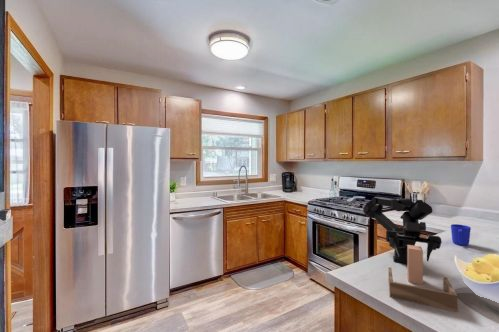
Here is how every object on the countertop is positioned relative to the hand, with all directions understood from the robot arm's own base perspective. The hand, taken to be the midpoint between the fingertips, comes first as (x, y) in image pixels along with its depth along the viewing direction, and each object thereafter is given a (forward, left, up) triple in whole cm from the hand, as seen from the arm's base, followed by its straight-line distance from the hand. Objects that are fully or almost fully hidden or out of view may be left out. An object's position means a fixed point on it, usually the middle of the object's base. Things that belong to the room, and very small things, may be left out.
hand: (413, 258), depth 93 cm
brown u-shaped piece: (+12, 0, -8) cm, 14 cm away
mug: (-56, +27, -8) cm, 62 cm away
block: (+1, 0, -8) cm, 8 cm away
